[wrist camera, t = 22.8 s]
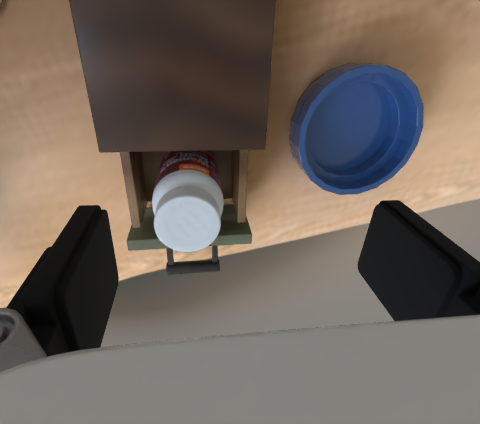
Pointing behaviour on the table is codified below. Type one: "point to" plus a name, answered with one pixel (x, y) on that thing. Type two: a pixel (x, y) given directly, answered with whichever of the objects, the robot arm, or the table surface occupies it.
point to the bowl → (356, 127)
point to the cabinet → (176, 72)
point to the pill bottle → (187, 200)
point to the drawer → (142, 230)
